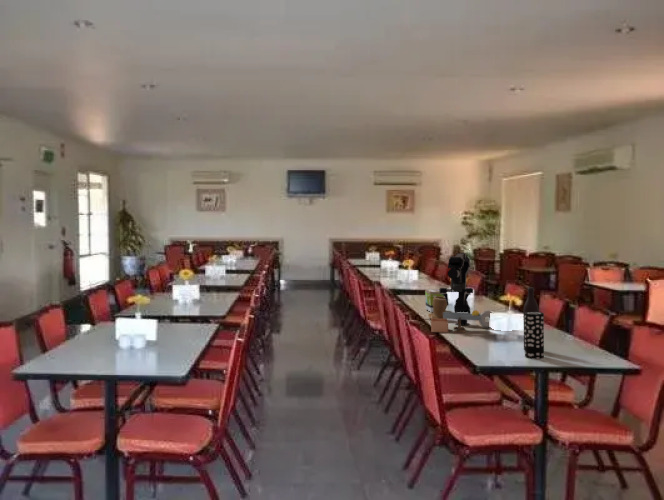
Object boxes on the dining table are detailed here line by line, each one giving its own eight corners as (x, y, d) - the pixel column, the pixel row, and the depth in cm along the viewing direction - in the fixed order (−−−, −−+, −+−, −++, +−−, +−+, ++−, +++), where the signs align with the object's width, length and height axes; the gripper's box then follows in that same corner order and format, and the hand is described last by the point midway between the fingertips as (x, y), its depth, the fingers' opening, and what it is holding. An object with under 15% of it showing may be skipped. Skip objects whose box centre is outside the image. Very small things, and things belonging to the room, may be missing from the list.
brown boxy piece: (447, 329, 388) (447, 315, 388) (448, 332, 378) (448, 318, 378) (431, 329, 390) (431, 315, 390) (431, 332, 379) (430, 318, 379)
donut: (494, 327, 392) (494, 310, 392) (496, 327, 389) (496, 310, 389) (477, 327, 391) (477, 310, 390) (480, 328, 387) (479, 311, 387)
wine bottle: (522, 349, 325) (521, 287, 323) (536, 348, 324) (536, 286, 323) (525, 351, 317) (525, 288, 316) (541, 351, 317) (540, 288, 316)
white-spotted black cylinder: (522, 355, 309) (521, 312, 309) (539, 354, 310) (539, 311, 309) (528, 359, 301) (528, 314, 300) (546, 358, 302) (546, 314, 301)
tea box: (425, 310, 473) (424, 289, 472) (439, 309, 474) (438, 288, 473) (430, 313, 458) (430, 291, 457) (444, 312, 459) (444, 290, 459)
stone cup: (449, 321, 418) (449, 297, 417) (430, 321, 419) (429, 297, 418) (446, 318, 433) (446, 294, 432) (427, 318, 434) (427, 295, 433)
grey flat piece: (478, 316, 392) (479, 311, 392) (480, 320, 376) (481, 315, 376) (442, 314, 395) (443, 309, 395) (443, 318, 379) (443, 313, 379)
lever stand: (464, 328, 389) (464, 314, 389) (465, 332, 374) (465, 318, 374) (453, 328, 390) (453, 314, 390) (454, 332, 375) (454, 318, 375)
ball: (473, 316, 384) (474, 309, 383) (479, 318, 381) (481, 311, 381) (470, 316, 380) (471, 309, 380) (476, 318, 378) (478, 311, 378)
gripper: (440, 278, 377) (440, 306, 377) (474, 278, 376) (474, 306, 376) (439, 278, 388) (439, 305, 388) (471, 278, 387) (471, 305, 387)
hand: (456, 305), depth 384 cm, fingers open, 9 cm apart
